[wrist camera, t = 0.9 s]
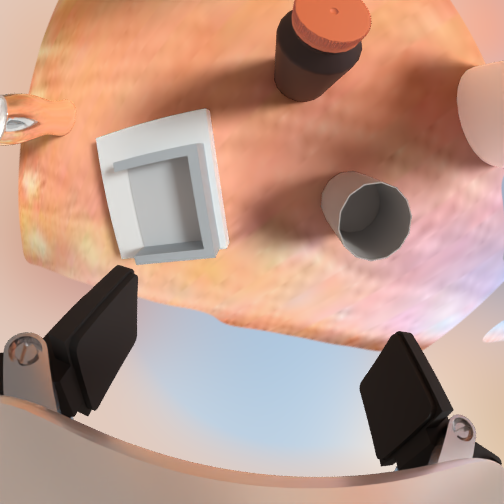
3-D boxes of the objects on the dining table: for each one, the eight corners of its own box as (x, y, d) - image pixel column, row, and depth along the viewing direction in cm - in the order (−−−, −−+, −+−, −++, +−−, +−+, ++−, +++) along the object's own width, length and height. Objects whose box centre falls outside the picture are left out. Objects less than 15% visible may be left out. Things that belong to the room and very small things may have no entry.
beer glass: (70, 88, 30) (1, 82, 17) (84, 119, 32) (13, 120, 19) (45, 116, 32) (-22, 120, 18) (58, 147, 34) (-11, 159, 20)
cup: (325, 236, 37) (342, 267, 28) (315, 176, 34) (332, 189, 25) (381, 225, 36) (412, 252, 27) (375, 167, 33) (409, 178, 24)
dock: (105, 137, 34) (81, 139, 28) (209, 110, 32) (198, 104, 26) (129, 252, 40) (110, 269, 35) (229, 241, 38) (222, 259, 33)
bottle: (300, 46, 28) (327, -38, 9) (337, 81, 29) (404, 27, 11) (262, 76, 30) (254, 5, 11) (300, 112, 31) (338, 76, 13)
